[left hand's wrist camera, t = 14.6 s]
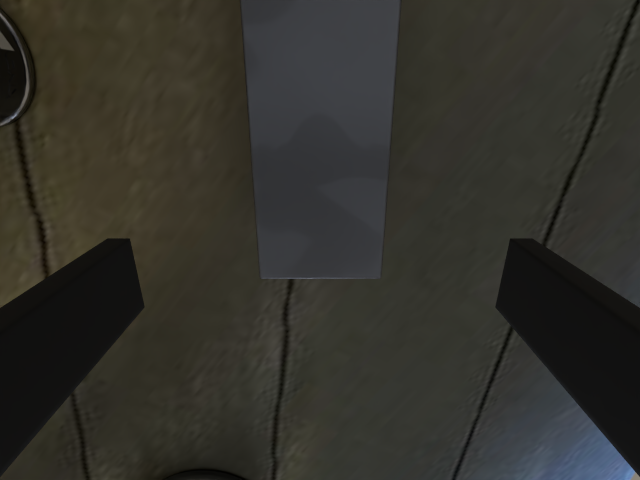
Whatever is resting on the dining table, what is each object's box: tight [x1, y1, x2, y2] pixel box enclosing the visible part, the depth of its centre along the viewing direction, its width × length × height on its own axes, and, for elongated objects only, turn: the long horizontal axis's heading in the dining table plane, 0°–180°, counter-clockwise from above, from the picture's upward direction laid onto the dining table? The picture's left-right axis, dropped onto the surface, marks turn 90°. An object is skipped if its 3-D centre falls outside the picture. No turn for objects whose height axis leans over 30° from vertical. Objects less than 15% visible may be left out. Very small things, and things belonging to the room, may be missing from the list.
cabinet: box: [240, 0, 401, 279], centre depth 21 cm, size 18×7×11 cm, turn 0°
